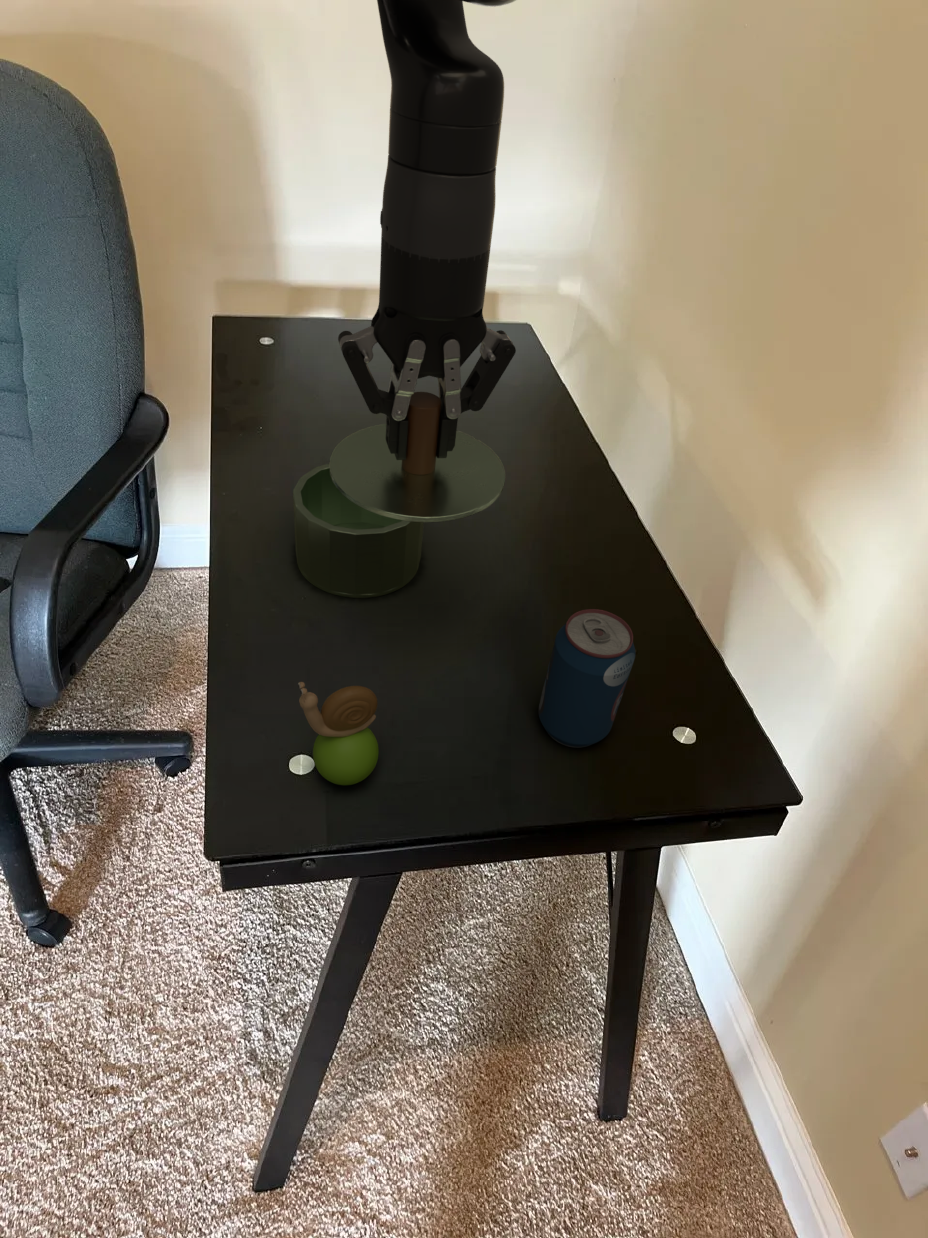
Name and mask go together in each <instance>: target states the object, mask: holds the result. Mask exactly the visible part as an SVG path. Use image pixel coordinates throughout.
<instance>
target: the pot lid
mask: <svg viewBox="0 0 928 1238" xmlns="http://www.w3.org/2000/svg"><path fill="white" fill-rule="evenodd" d="M440 411H441V399H440V398H439V395H437V394H435V393H432V392H427V391H414V394H413V395H412V396H411V399H410V403H409V408H408V412H407V419H408V436H407V451H406V460H396V457H395V454H391V453H390V450H389V448H388V445H387V442H386V439H385V438H386V423H381V424H376V425H371V426H368V427H365V428H362V429H359V430H357V431H355V432H353V433H350V434H349V435H348V436H346V437H345V438H343V439H341V441H340V442H338V444H337V445H336V446H335V447H334V449H333V451H332V452H331V455H330V458H329V463H330V464H329V463H328V464H329V467H330V475H331V478H332V481H333V483H334V484H335V486H336V487H337V489H338V490H339V491H340V492H341V493H342V494H343V495H344V496H345V497H346V498H348V499H349V500H350V501H352V502H353V503H355V504H356V505H358V506H360V507H362V508H364V509H366V510H368V511H370V512H373V513H376V514H378V515H382V516H385V517H388V518H393V519H398V520H403V521H411V522H424V523H444V522H451V521H456V520H461V519H463V518H468V517H471V516H474V515H477V514H479V513H480V512H482V511H484V510H486V509H488V508H489V507H490V506H492V504H494V503H495V502H496V501H497V500H498V499H499V497H500V496H501V494H502V493H503V490H504V487H505V483H506V470H505V467H504V465H503V462H502V460H501V459H500V457H499V456H498V455H497V453H496V452H495V451H494V450H493V449H492V448H491V447H490V446H488V445H487V444H485V443H484V442H482V441H481V440H479V439H478V438H476V437H474V436H472V435H470V434H468V433H465V432H463V431H460V430H458V429H457V431H456V439H455V446H454V448H453V450H452V451H447V457H446V458H437V456H436V454H437V443H438V433H439V422H440Z"/></svg>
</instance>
